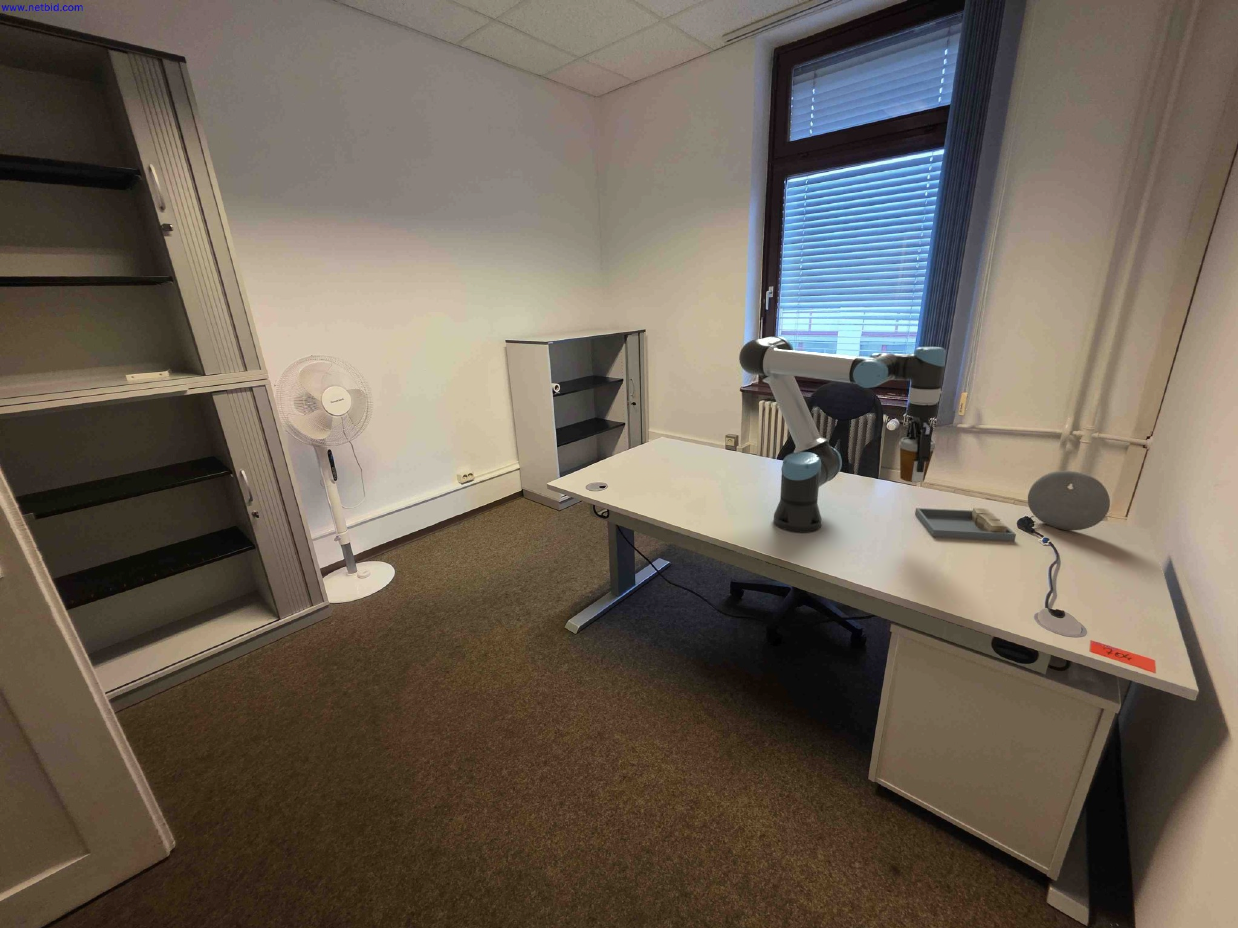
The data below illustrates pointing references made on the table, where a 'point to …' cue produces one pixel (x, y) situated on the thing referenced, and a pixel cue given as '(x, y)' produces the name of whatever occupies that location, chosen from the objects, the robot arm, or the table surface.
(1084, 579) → the table surface
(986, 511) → the block
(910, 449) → the disposable coffee cup
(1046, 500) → the dark grey disc
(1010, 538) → the tray
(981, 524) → the block
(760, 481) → the table surface
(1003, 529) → the block
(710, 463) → the table surface
